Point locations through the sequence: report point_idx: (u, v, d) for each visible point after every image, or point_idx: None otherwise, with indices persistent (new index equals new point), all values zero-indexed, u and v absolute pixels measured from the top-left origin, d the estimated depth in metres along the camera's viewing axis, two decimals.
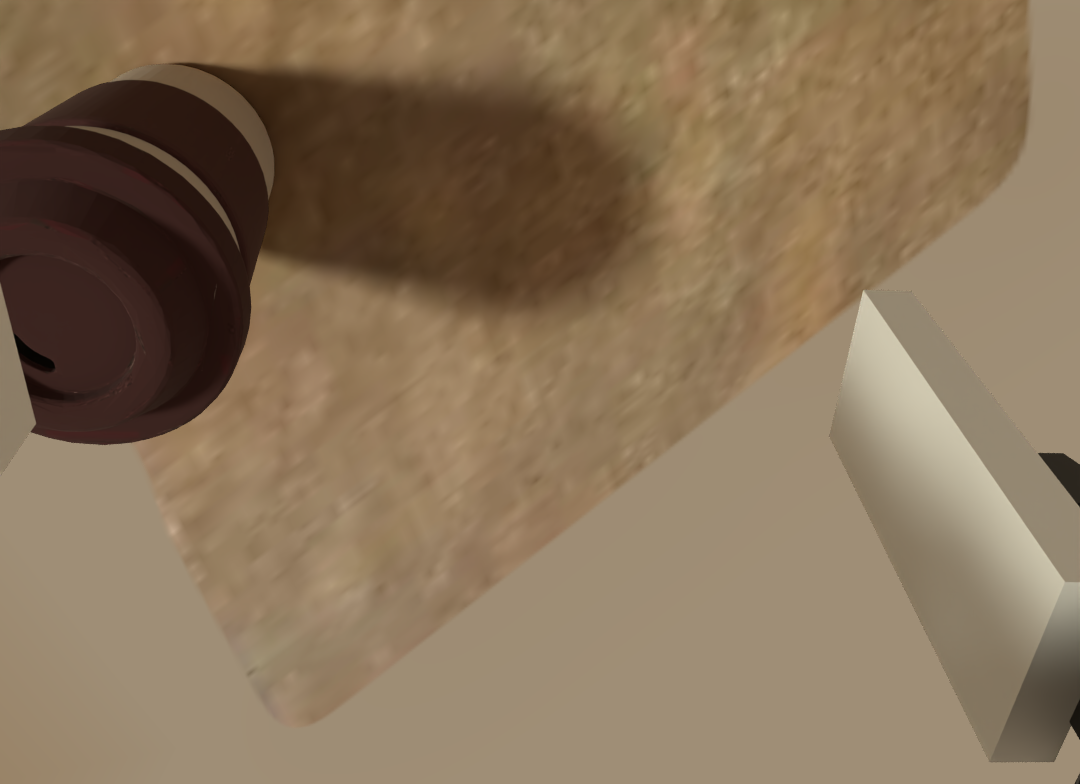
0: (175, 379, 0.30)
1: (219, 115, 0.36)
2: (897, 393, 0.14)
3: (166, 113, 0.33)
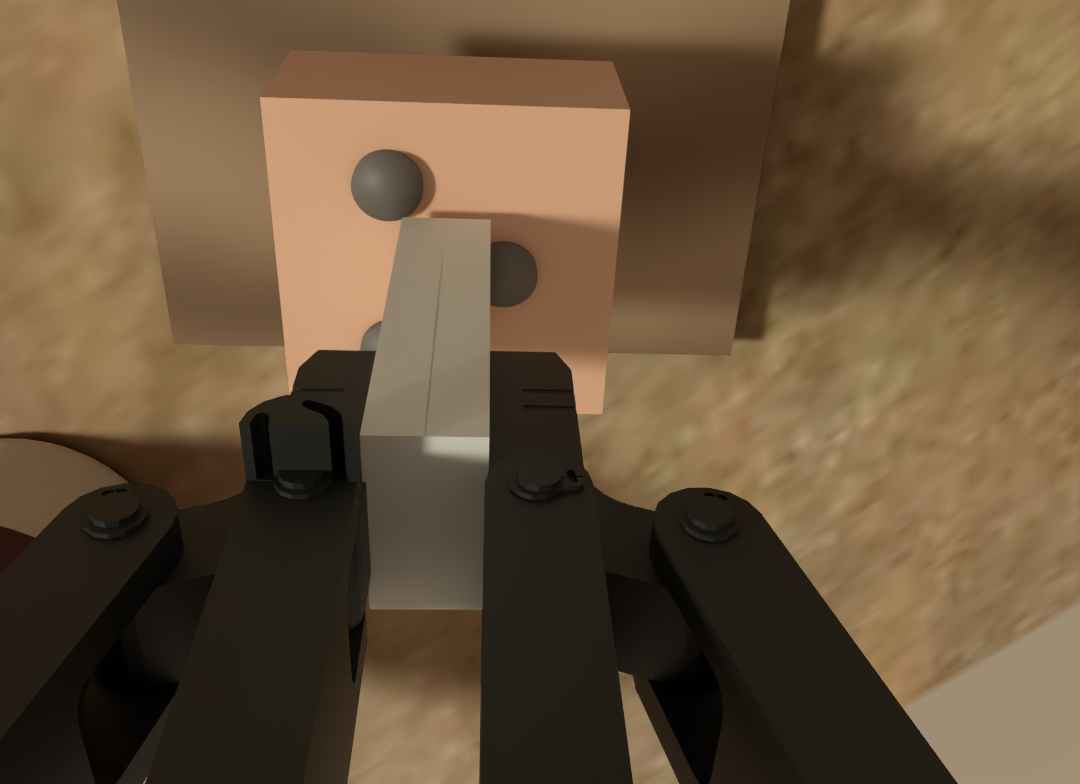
0: None
1: None
2: None
3: None
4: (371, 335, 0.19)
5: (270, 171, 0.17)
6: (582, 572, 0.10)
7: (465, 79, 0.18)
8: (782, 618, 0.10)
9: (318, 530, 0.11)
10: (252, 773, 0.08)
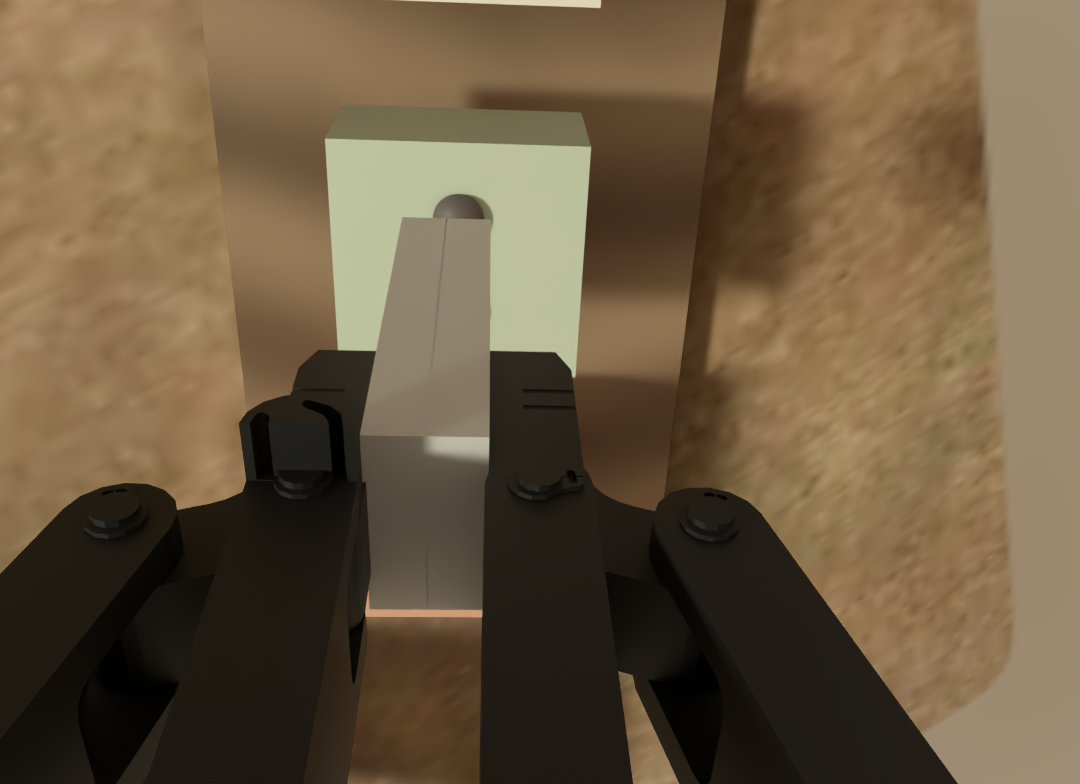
0: None
1: None
2: None
3: None
4: None
5: None
6: (582, 572, 0.10)
7: None
8: (782, 618, 0.10)
9: (318, 530, 0.10)
10: (252, 773, 0.08)
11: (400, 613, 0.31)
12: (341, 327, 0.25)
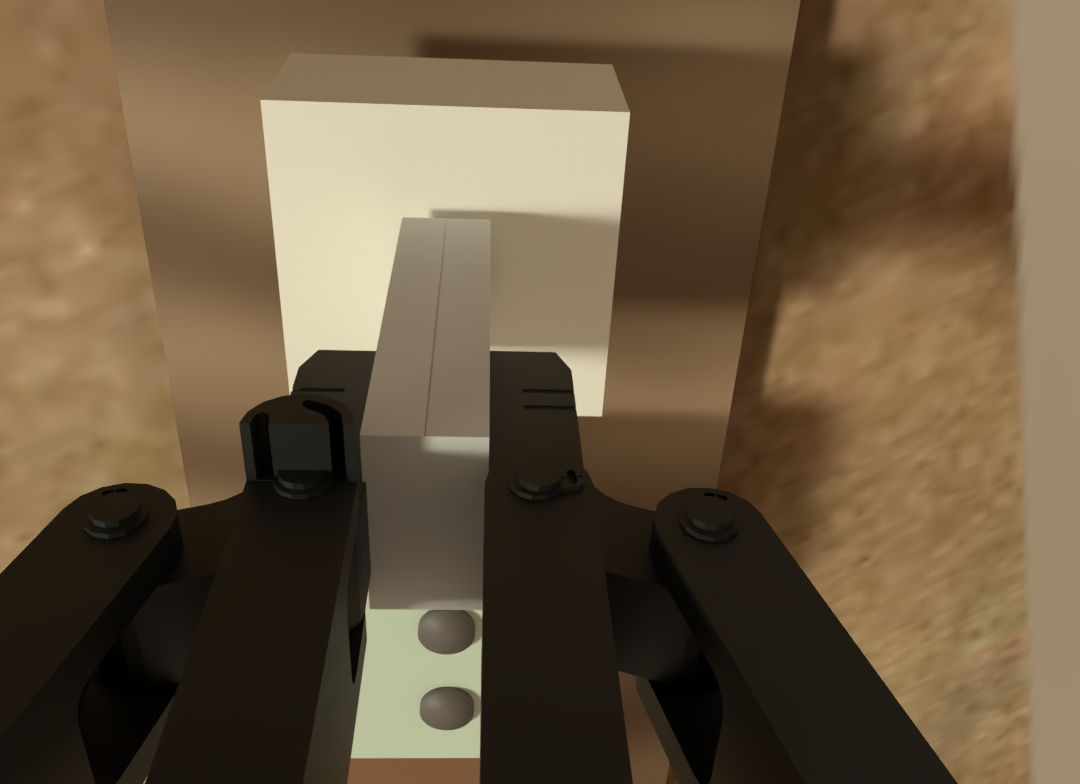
0: None
1: None
2: None
3: None
4: None
5: None
6: (582, 572, 0.10)
7: None
8: (782, 618, 0.10)
9: (318, 530, 0.10)
10: (252, 775, 0.08)
11: None
12: None
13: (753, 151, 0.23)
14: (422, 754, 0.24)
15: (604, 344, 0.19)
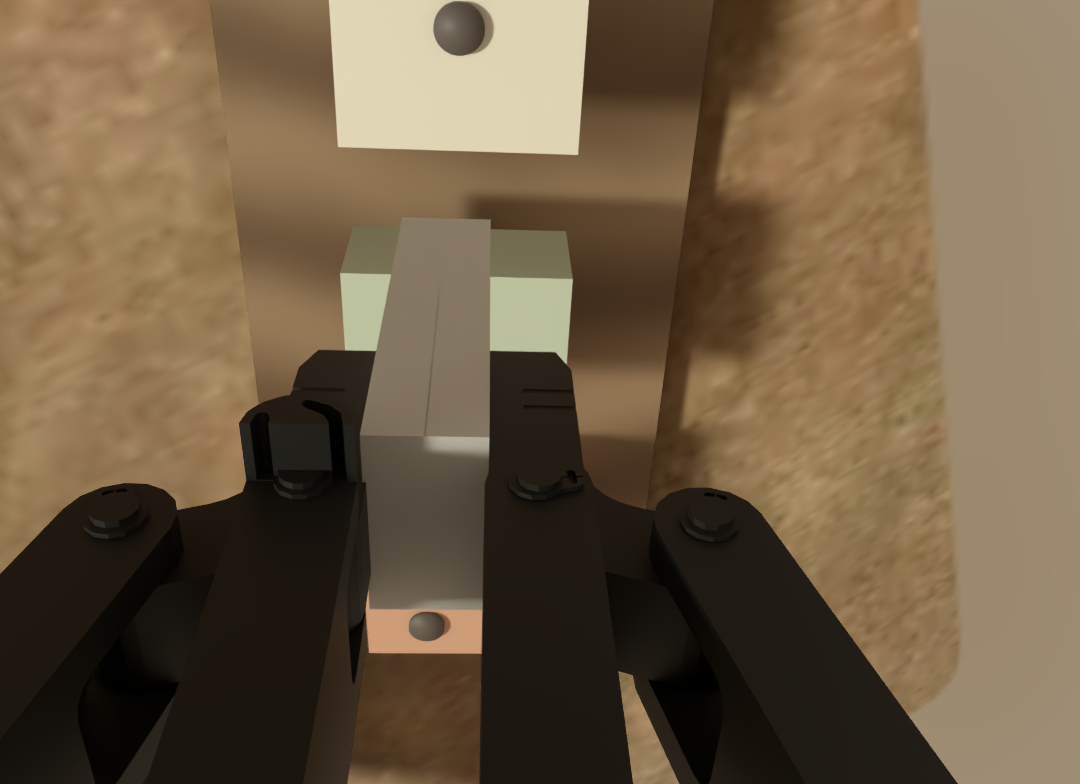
0: None
1: None
2: None
3: None
4: (415, 620, 0.34)
5: None
6: (582, 572, 0.10)
7: None
8: (782, 618, 0.10)
9: (318, 530, 0.10)
10: (251, 773, 0.08)
11: (405, 650, 0.35)
12: None
13: None
14: None
15: (579, 90, 0.25)
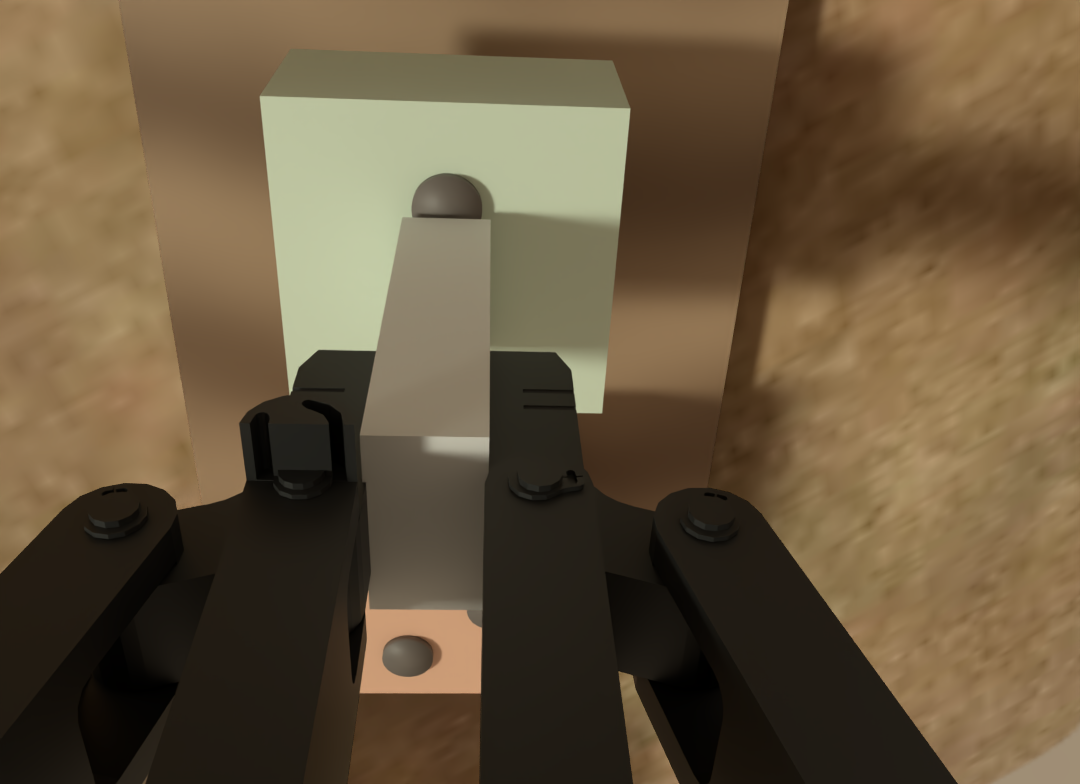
0: None
1: None
2: None
3: None
4: (391, 648, 0.24)
5: None
6: (582, 572, 0.10)
7: None
8: (782, 618, 0.10)
9: (318, 530, 0.11)
10: (253, 773, 0.08)
11: (378, 689, 0.25)
12: (291, 350, 0.19)
13: None
14: None
15: None
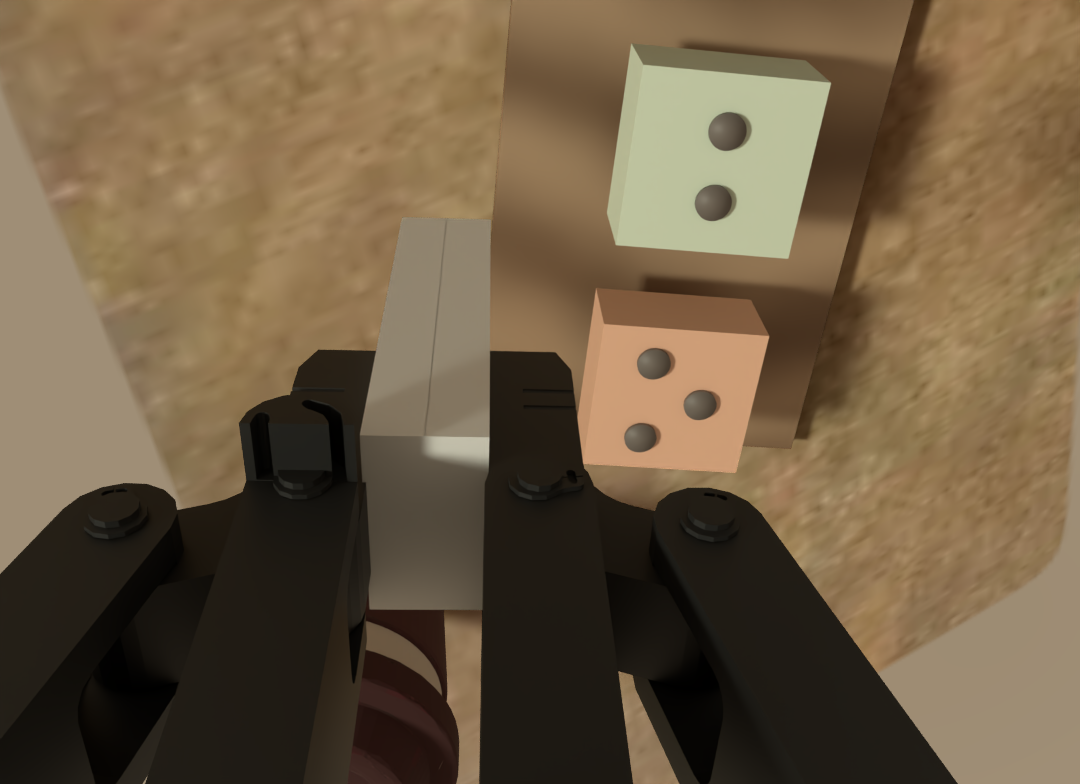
0: None
1: None
2: None
3: None
4: (632, 430, 0.38)
5: (600, 354, 0.37)
6: (582, 572, 0.10)
7: (687, 312, 0.38)
8: (782, 618, 0.10)
9: (318, 530, 0.10)
10: (252, 773, 0.08)
11: (615, 462, 0.39)
12: (624, 209, 0.34)
13: None
14: (685, 249, 0.35)
15: None
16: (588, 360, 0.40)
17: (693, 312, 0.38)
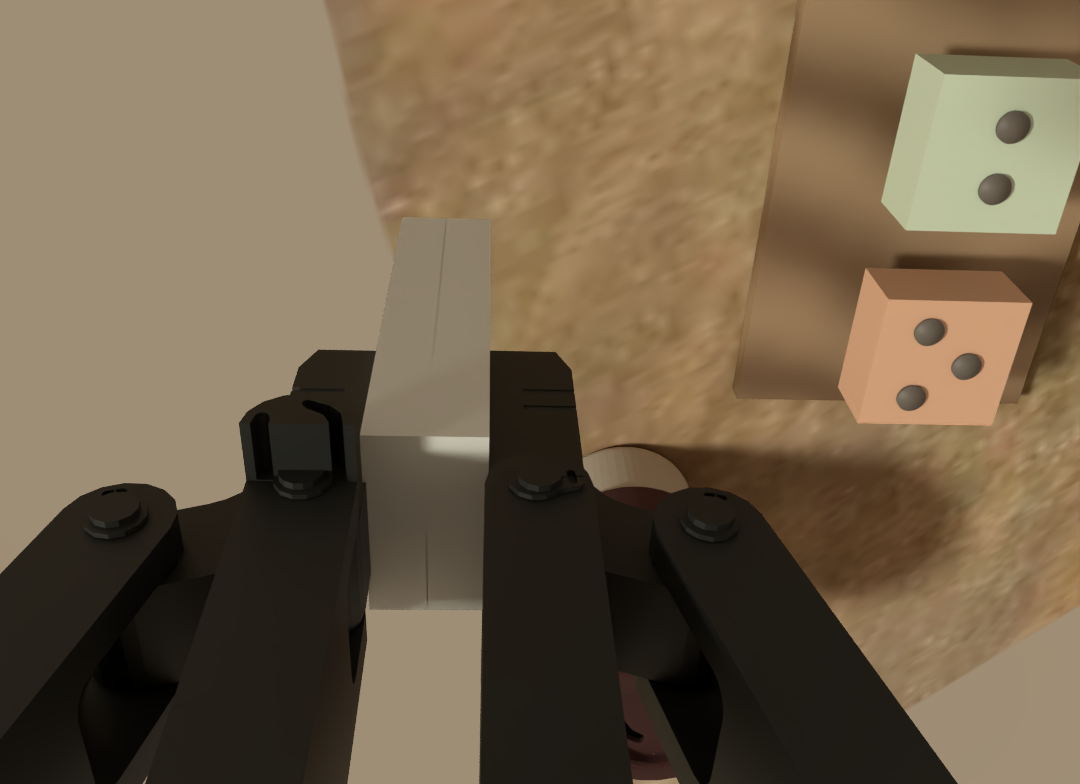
0: None
1: None
2: None
3: None
4: (905, 391, 0.44)
5: (882, 326, 0.42)
6: (582, 572, 0.10)
7: (953, 285, 0.43)
8: (782, 618, 0.10)
9: (318, 530, 0.10)
10: (251, 773, 0.08)
11: (886, 421, 0.45)
12: (916, 199, 0.39)
13: None
14: (965, 231, 0.40)
15: None
16: (857, 332, 0.45)
17: (958, 285, 0.43)
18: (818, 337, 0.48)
